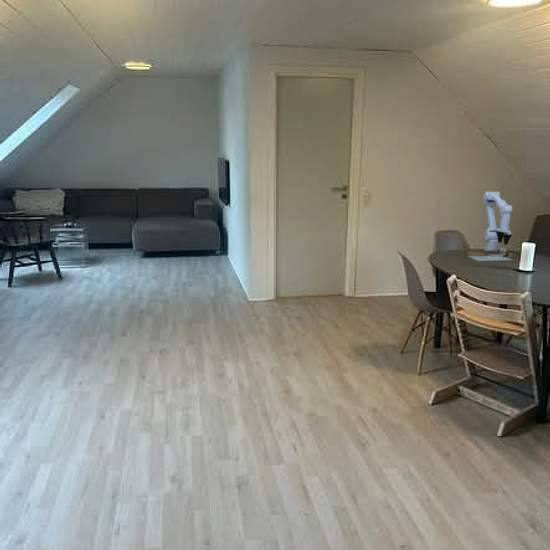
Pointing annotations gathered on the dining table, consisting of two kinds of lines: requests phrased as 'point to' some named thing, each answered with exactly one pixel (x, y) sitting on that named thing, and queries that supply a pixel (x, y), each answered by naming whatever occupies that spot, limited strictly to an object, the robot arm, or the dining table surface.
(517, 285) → the dining table surface
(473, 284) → the dining table surface
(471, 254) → the walls
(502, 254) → the bracket
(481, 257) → the mat
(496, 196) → the robot arm
